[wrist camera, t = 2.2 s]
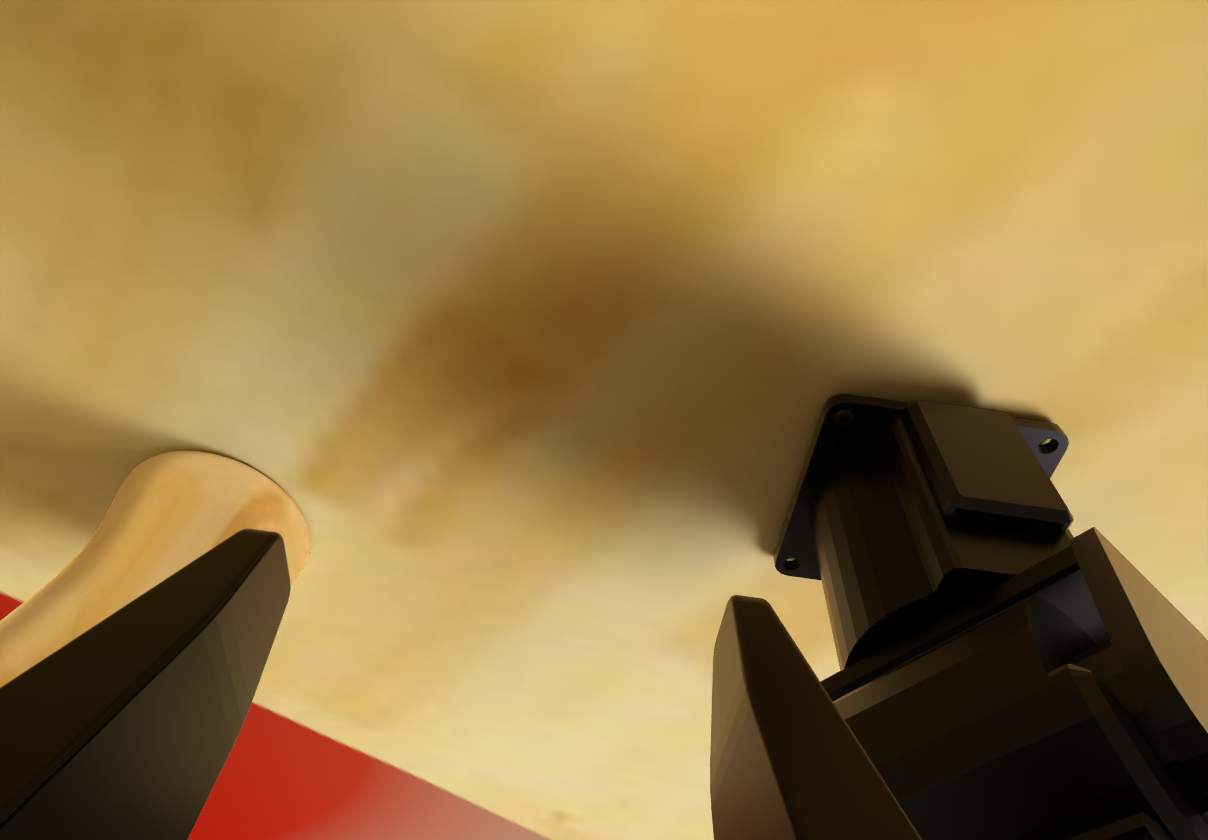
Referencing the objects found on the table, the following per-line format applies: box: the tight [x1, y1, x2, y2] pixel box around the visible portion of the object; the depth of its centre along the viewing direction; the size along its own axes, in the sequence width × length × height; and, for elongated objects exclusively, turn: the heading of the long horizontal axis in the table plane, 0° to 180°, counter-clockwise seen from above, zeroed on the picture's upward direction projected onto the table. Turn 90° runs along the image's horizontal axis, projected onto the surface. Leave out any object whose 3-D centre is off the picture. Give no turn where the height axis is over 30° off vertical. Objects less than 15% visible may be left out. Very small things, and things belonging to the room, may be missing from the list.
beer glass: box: [0, 451, 310, 687], centre depth 20 cm, size 7×7×15 cm
